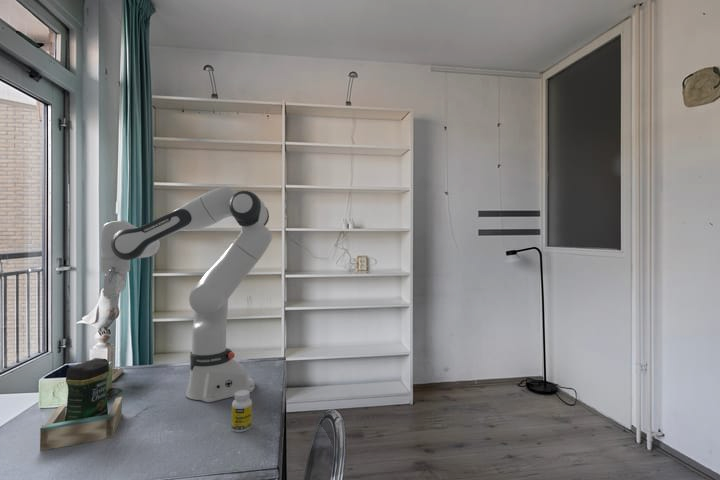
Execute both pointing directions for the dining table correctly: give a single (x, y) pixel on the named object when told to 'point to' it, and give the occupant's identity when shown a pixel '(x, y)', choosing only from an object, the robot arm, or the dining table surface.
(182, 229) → the robot arm
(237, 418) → the supplement bottle
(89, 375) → the coffee jar
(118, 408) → the dock bay
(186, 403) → the dining table surface
